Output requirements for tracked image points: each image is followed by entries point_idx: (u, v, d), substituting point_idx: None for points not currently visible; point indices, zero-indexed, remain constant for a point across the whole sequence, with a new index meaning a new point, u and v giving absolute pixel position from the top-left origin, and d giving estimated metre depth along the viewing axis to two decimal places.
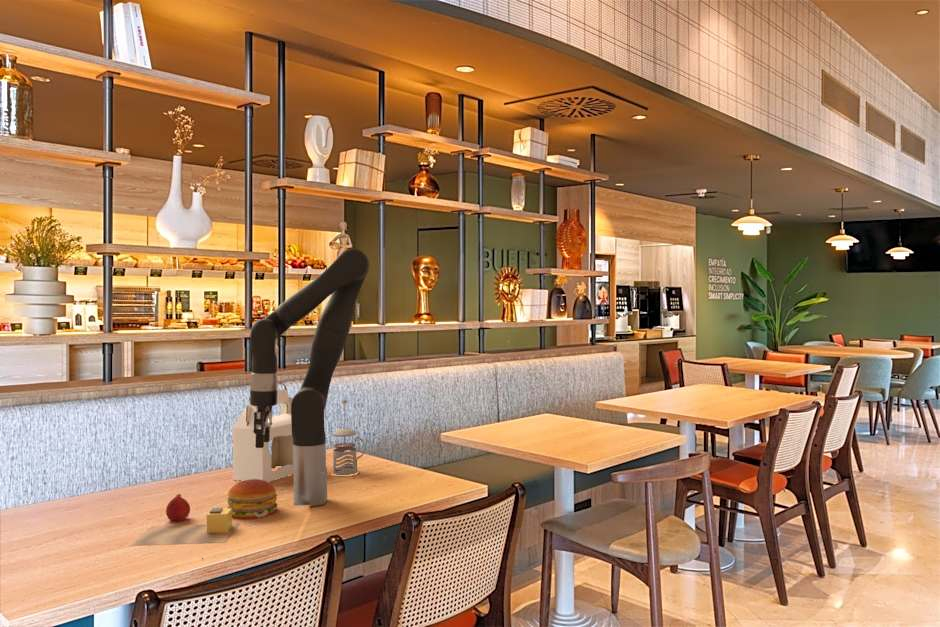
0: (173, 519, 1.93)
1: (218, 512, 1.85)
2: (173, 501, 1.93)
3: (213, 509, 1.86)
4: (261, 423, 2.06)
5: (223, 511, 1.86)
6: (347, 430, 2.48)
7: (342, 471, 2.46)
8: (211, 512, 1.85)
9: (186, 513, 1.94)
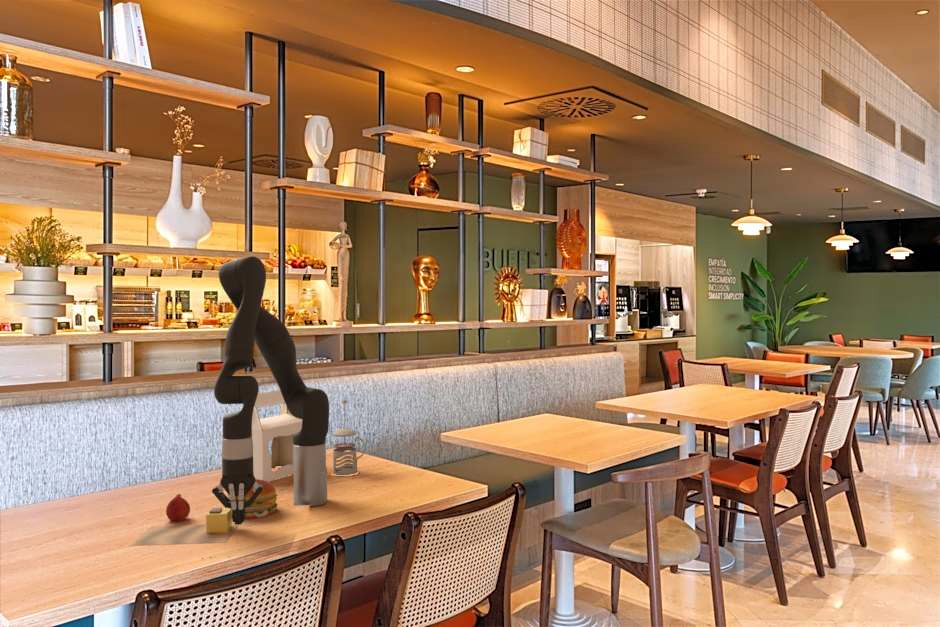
0: (173, 519, 1.93)
1: (218, 512, 1.85)
2: (173, 501, 1.93)
3: (213, 509, 1.86)
4: None
5: (223, 511, 1.86)
6: (347, 430, 2.48)
7: (342, 471, 2.46)
8: (211, 512, 1.85)
9: (186, 513, 1.94)
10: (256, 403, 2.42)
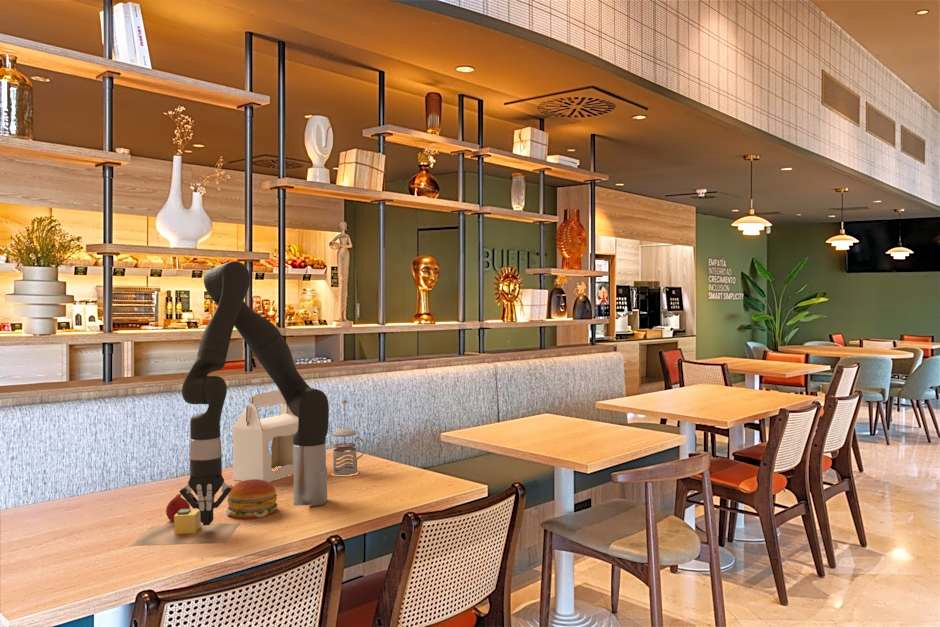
0: (173, 519, 1.93)
1: (186, 513, 1.84)
2: (173, 501, 1.93)
3: (181, 510, 1.86)
4: (225, 497, 1.87)
5: (191, 512, 1.86)
6: (347, 430, 2.48)
7: (342, 471, 2.46)
8: (179, 513, 1.84)
9: None
10: (256, 403, 2.42)
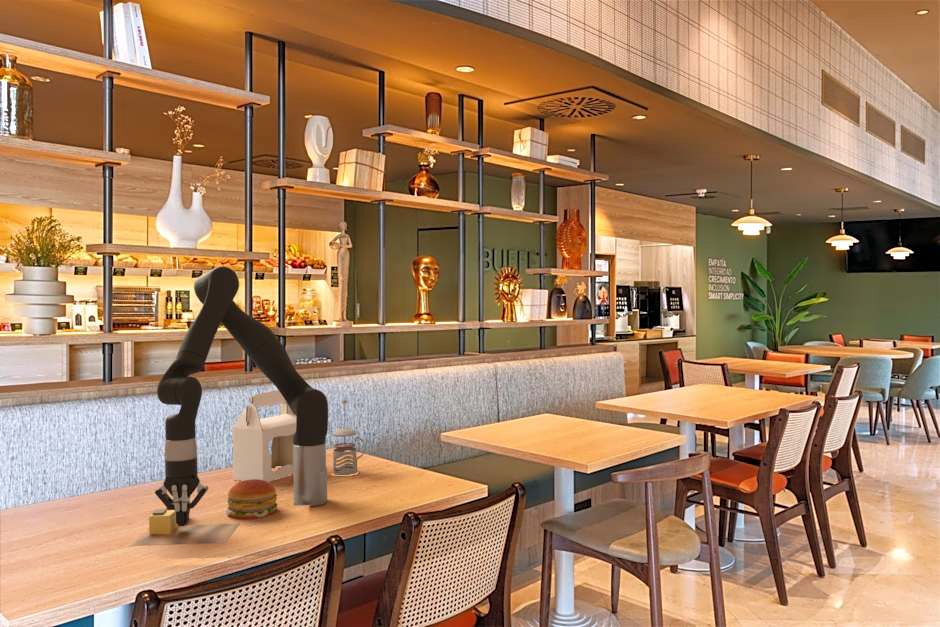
0: None
1: (161, 514, 1.84)
2: None
3: (156, 511, 1.85)
4: None
5: (166, 513, 1.85)
6: (347, 430, 2.48)
7: (342, 471, 2.46)
8: (154, 514, 1.84)
9: None
10: (256, 403, 2.42)
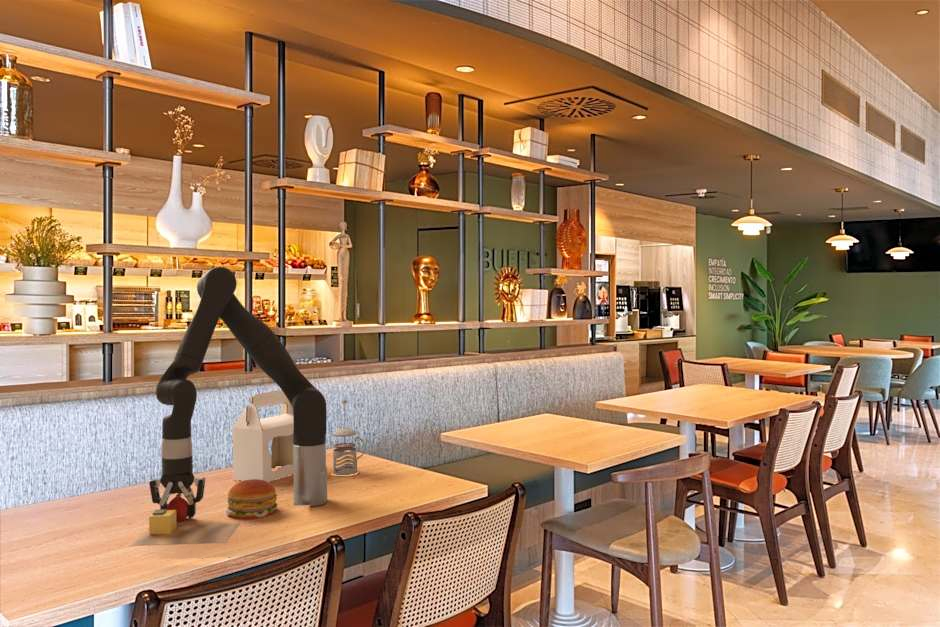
0: None
1: (161, 514, 1.84)
2: (173, 501, 1.93)
3: (156, 511, 1.85)
4: (203, 489, 1.96)
5: (166, 513, 1.85)
6: (347, 430, 2.48)
7: (342, 471, 2.46)
8: (154, 514, 1.84)
9: (186, 513, 1.94)
10: (256, 403, 2.42)
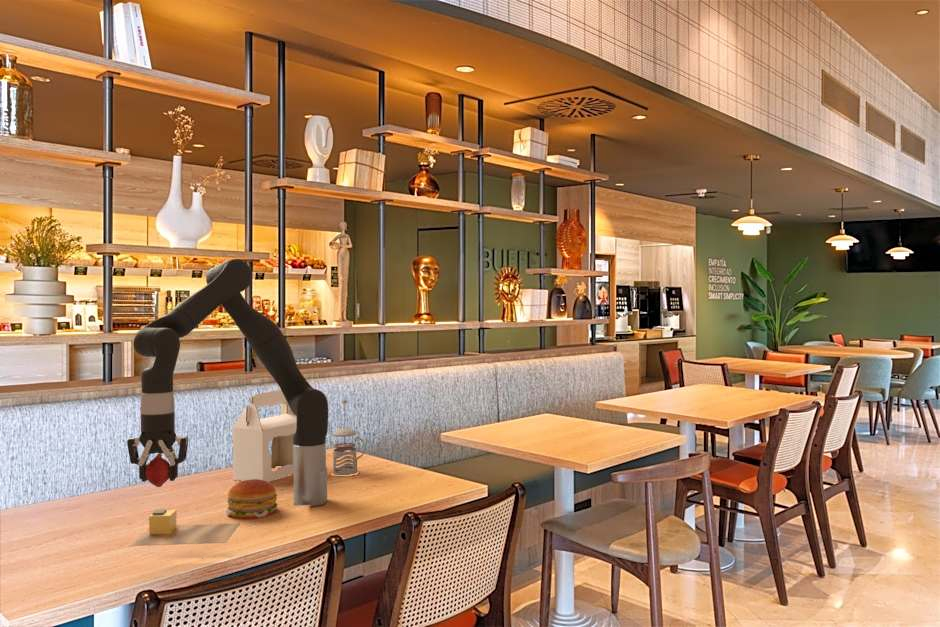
0: (153, 481, 1.76)
1: (161, 514, 1.84)
2: (153, 461, 1.76)
3: (156, 511, 1.85)
4: (186, 449, 1.79)
5: (166, 513, 1.85)
6: (347, 430, 2.48)
7: (342, 471, 2.46)
8: (154, 514, 1.84)
9: (167, 475, 1.77)
10: (256, 403, 2.42)
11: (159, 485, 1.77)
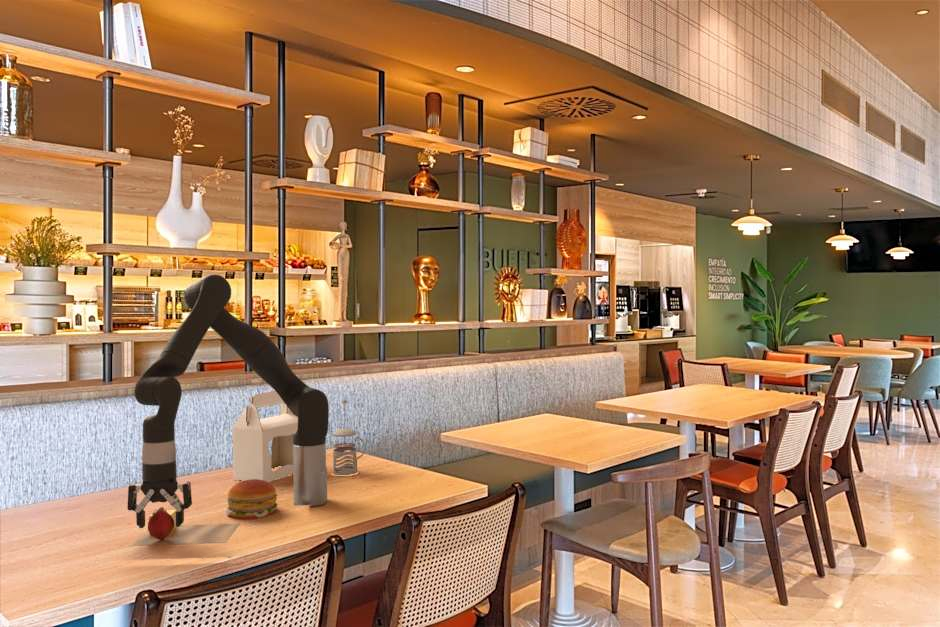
0: (156, 535, 1.76)
1: None
2: (155, 515, 1.76)
3: (156, 511, 1.85)
4: (190, 494, 1.79)
5: None
6: (347, 430, 2.48)
7: (342, 471, 2.46)
8: None
9: (170, 528, 1.77)
10: (256, 403, 2.42)
11: (162, 539, 1.77)
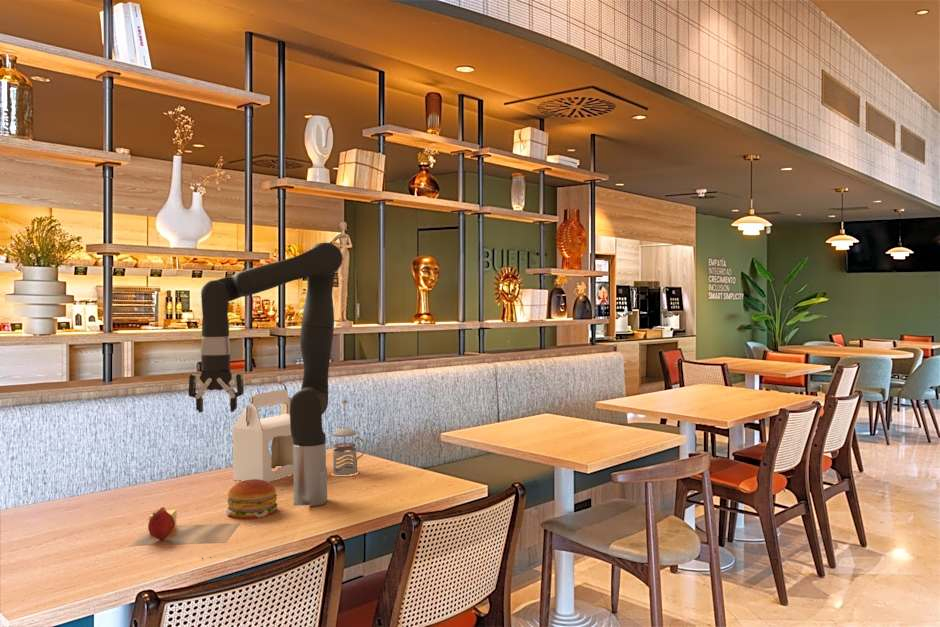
0: (156, 535, 1.76)
1: None
2: (156, 515, 1.76)
3: (156, 511, 1.85)
4: (242, 384, 2.05)
5: None
6: (347, 430, 2.48)
7: (342, 471, 2.46)
8: None
9: (170, 528, 1.77)
10: (256, 403, 2.42)
11: (162, 539, 1.77)
